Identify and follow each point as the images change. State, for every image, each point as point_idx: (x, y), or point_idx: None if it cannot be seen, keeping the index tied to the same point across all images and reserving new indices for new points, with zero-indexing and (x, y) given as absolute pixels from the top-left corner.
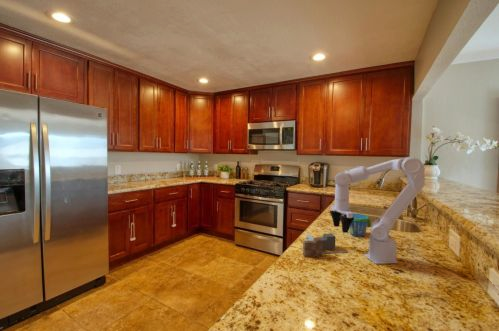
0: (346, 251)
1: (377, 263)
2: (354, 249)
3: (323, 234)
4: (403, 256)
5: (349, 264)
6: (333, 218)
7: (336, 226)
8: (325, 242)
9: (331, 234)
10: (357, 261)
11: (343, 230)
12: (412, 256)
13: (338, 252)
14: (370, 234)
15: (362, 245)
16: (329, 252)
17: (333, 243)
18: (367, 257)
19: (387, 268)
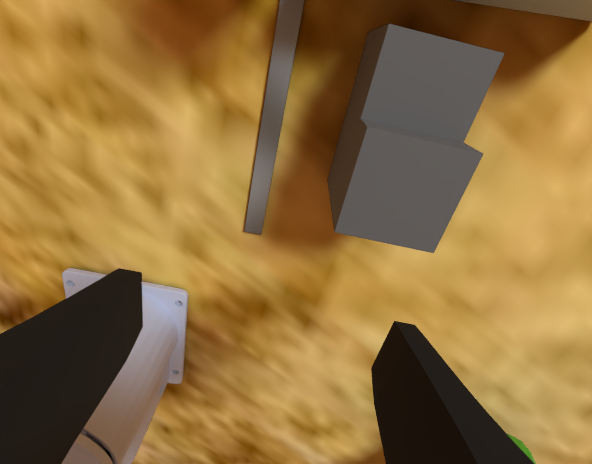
0: (258, 228)
1: (64, 275)
2: (279, 298)
3: (473, 149)
4: (153, 423)
5: (61, 98)
6: (472, 460)
7: (385, 344)
8: (362, 95)
9: (406, 232)
10: (109, 192)
11: (89, 287)
12: (150, 446)
13: (257, 158)
14: (96, 457)
15: (313, 370)
16: (278, 77)
17: (335, 182)
18: (147, 283)
19: (24, 283)
